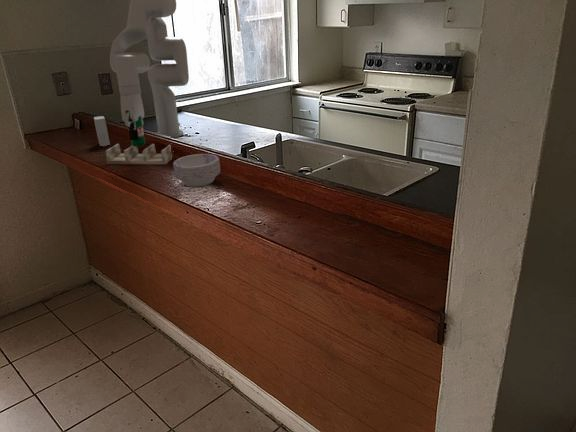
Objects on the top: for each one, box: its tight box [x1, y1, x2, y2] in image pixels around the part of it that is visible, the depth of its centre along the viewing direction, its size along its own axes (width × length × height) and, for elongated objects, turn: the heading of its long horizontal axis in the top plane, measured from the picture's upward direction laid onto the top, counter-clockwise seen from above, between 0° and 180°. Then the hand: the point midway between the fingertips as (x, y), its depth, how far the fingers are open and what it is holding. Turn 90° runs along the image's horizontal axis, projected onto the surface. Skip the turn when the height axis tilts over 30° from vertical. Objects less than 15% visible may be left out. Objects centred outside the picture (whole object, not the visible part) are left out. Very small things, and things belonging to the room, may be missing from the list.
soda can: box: [130, 116, 146, 148], centre depth 189 cm, size 5×5×12 cm
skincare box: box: [93, 115, 111, 147], centre depth 216 cm, size 6×4×12 cm
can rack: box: [105, 143, 173, 165], centre depth 193 cm, size 10×24×5 cm, turn 82°
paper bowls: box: [172, 153, 221, 188], centre depth 166 cm, size 15×15×8 cm
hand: (137, 137), depth 190 cm, fingers closed on soda can, 5 cm apart
